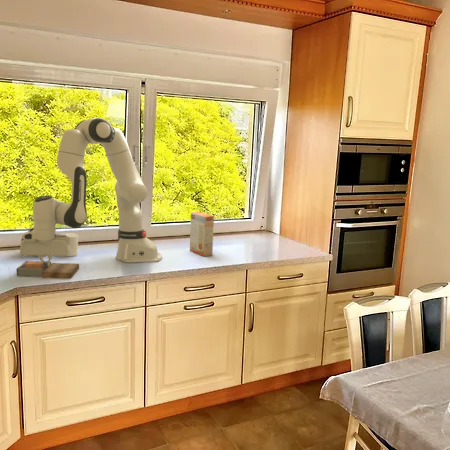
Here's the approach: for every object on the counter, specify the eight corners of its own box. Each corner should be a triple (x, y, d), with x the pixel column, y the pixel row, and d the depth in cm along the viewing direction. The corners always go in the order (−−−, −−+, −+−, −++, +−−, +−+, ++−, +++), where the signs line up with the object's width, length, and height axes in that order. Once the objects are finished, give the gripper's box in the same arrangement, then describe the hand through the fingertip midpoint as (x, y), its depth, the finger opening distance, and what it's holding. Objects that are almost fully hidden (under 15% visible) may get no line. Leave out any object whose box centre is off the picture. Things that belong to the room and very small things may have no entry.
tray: (51, 269, 214) (51, 261, 214) (43, 277, 203) (42, 269, 202) (26, 268, 213) (26, 260, 213) (16, 276, 202) (16, 268, 201)
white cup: (81, 254, 241) (81, 234, 239) (70, 257, 234) (70, 237, 232) (69, 251, 244) (69, 232, 242) (58, 255, 237) (57, 235, 235)
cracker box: (213, 255, 248) (214, 215, 244) (203, 257, 245) (204, 216, 241) (199, 249, 259) (200, 211, 255) (189, 250, 256) (190, 212, 252)
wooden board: (79, 268, 216) (79, 263, 216) (71, 278, 202) (71, 272, 202) (52, 268, 215) (51, 263, 215) (42, 277, 202) (42, 272, 201)
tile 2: (44, 267, 210) (43, 261, 210) (41, 269, 206) (41, 264, 206) (34, 267, 210) (34, 261, 209) (31, 269, 206) (31, 264, 205)
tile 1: (34, 261, 209) (28, 261, 209) (31, 263, 205) (25, 263, 205) (34, 270, 210) (28, 270, 210) (31, 273, 206) (25, 272, 206)
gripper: (71, 233, 209) (72, 263, 211) (23, 232, 207) (24, 262, 210) (67, 236, 203) (68, 268, 205) (18, 235, 201) (19, 267, 204)
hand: (45, 265), depth 208 cm, fingers closed
